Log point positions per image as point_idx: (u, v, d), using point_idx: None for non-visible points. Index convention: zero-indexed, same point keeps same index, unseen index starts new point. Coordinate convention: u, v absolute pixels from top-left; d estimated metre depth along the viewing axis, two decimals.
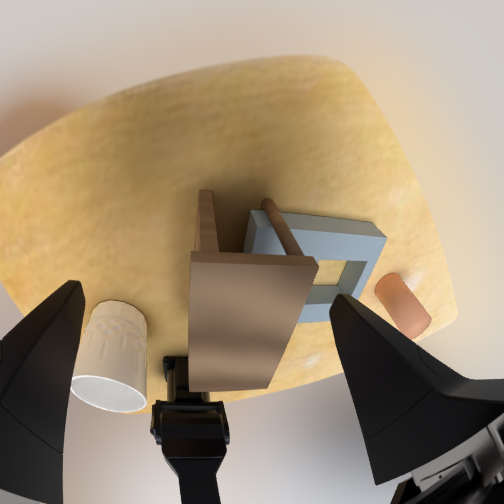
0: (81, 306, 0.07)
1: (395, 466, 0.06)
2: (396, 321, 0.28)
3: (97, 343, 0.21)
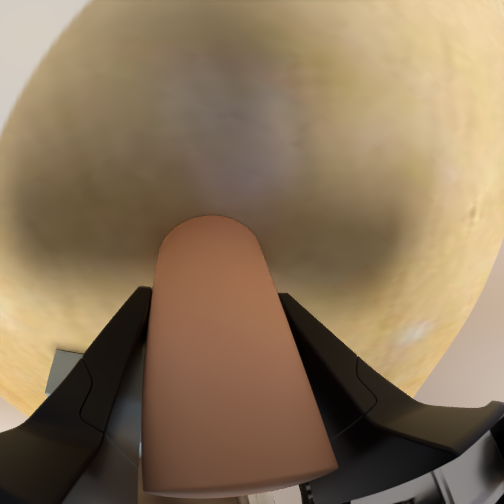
0: None
1: (331, 492, 0.05)
2: None
3: None
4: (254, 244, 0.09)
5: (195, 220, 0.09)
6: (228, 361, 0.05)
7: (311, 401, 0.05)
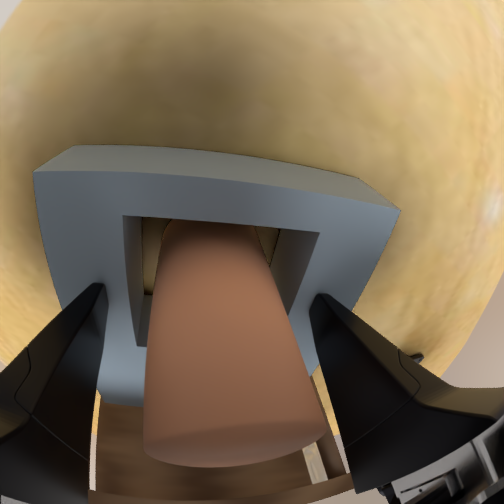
0: (105, 309, 0.08)
1: (374, 475, 0.05)
2: None
3: None
4: (250, 229, 0.10)
5: None
6: (225, 320, 0.05)
7: (300, 362, 0.06)
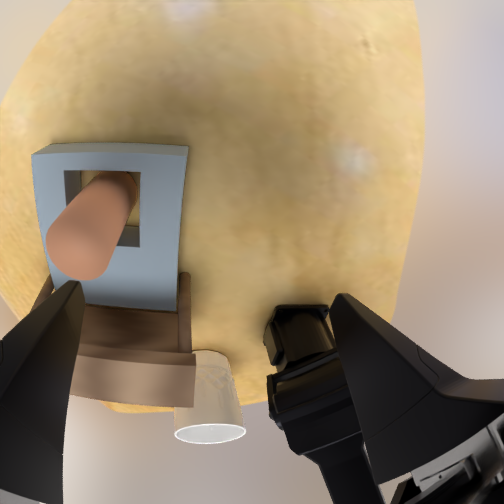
0: (81, 306, 0.07)
1: (395, 466, 0.06)
2: None
3: (174, 408, 0.27)
4: (125, 178, 0.17)
5: None
6: (82, 198, 0.13)
7: (104, 214, 0.13)
